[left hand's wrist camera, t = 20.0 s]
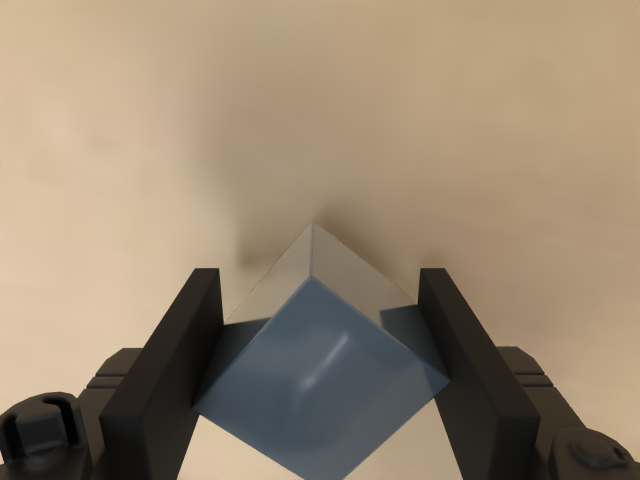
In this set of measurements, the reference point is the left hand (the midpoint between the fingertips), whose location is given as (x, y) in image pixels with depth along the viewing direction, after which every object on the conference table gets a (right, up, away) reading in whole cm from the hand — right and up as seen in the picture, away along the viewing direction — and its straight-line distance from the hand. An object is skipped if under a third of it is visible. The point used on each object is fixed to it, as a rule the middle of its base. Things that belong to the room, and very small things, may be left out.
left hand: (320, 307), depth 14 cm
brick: (0, 0, 0) cm, 0 cm away
